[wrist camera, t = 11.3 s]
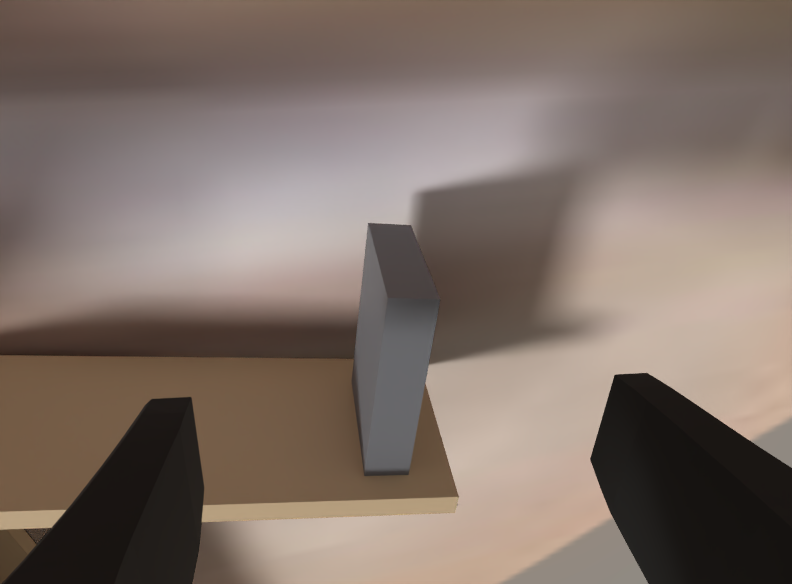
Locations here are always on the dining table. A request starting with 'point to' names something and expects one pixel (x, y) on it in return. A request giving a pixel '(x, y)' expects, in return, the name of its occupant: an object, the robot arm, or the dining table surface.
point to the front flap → (252, 415)
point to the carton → (13, 550)
